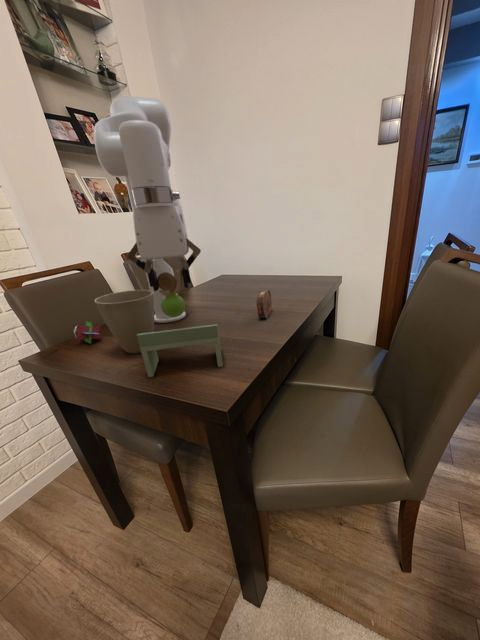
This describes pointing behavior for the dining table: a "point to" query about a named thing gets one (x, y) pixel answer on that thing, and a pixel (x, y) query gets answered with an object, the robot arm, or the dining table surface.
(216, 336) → the shelf
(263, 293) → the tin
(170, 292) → the snail figurine
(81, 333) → the geometric puzzle
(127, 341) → the plant pot
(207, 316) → the dining table surface
